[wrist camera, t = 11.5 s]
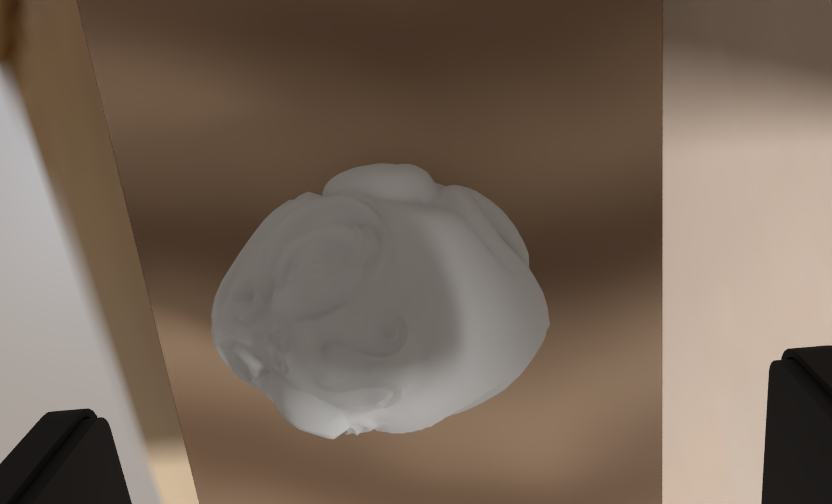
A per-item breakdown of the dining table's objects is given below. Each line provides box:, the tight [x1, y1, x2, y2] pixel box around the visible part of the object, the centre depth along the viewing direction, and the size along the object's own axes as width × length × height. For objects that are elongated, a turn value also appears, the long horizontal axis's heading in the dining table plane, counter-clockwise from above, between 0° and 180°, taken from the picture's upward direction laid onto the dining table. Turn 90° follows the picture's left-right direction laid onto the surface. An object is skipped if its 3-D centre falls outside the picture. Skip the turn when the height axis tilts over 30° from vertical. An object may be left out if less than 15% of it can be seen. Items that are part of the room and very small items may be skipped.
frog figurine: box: [211, 163, 550, 439], centre depth 17 cm, size 6×7×7 cm
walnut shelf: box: [77, 0, 663, 504], centre depth 23 cm, size 20×14×6 cm
